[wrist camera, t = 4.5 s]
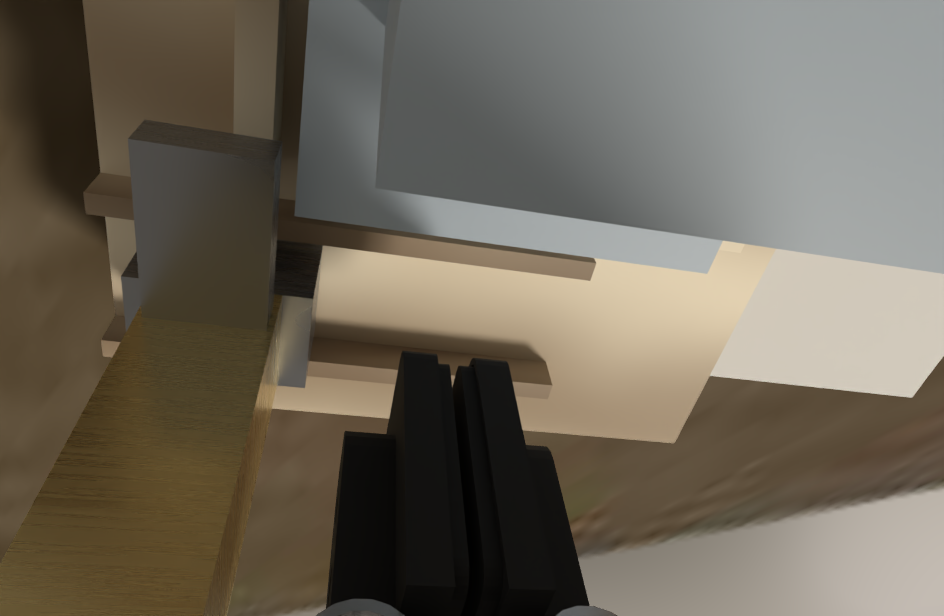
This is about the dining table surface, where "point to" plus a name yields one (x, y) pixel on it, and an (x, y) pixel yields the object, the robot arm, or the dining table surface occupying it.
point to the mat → (838, 326)
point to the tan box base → (407, 248)
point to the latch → (175, 392)
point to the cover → (632, 125)
